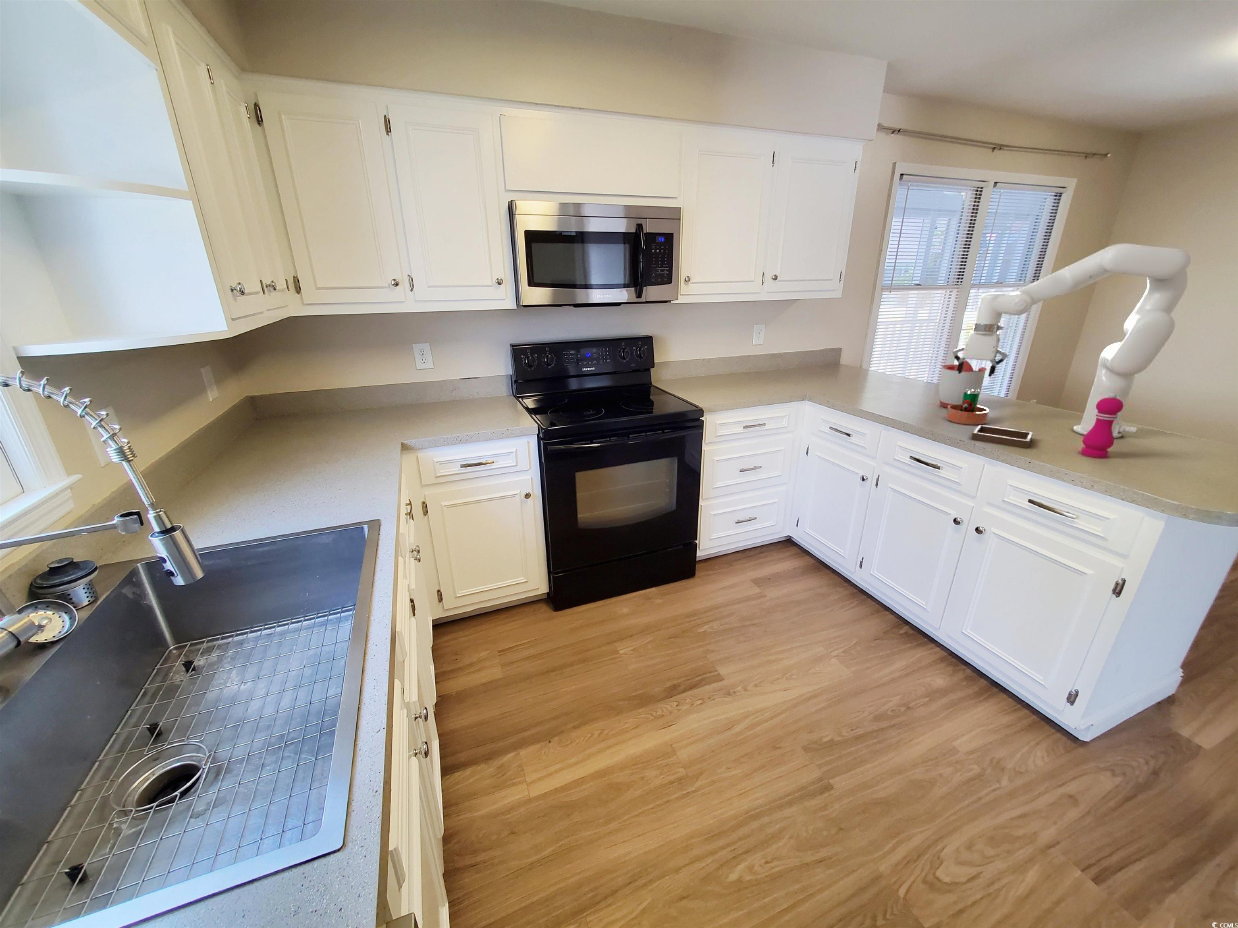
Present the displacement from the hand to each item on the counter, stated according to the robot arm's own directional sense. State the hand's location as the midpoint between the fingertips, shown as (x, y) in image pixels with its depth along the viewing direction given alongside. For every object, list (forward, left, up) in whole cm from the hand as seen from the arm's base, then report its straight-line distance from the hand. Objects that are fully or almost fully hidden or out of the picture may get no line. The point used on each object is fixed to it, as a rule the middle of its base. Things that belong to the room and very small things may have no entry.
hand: (974, 374), depth 188 cm
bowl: (0, 0, -18) cm, 18 cm away
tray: (-14, +19, -18) cm, 30 cm away
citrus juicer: (+7, -22, -18) cm, 30 cm away
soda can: (0, 0, -18) cm, 18 cm away
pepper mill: (-38, +20, -18) cm, 47 cm away
